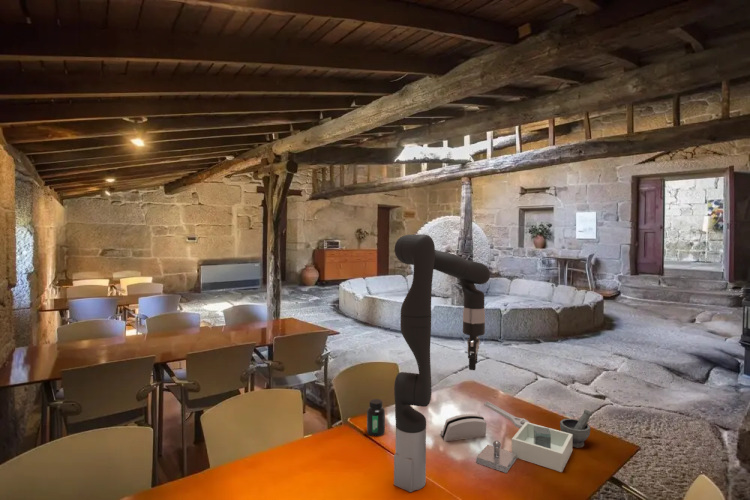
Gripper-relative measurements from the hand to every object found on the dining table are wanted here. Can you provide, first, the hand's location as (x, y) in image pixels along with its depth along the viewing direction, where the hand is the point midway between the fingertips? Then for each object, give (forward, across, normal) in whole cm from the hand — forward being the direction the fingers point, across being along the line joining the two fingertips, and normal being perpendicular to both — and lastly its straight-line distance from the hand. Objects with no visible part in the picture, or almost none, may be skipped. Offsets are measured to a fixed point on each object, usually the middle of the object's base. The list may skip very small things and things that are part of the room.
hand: (473, 366), depth 144 cm
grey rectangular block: (+28, -4, +23) cm, 37 cm away
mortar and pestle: (+29, -16, +36) cm, 48 cm away
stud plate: (+29, +6, +8) cm, 31 cm away
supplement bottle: (+29, -1, -36) cm, 46 cm away
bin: (+29, -4, +23) cm, 37 cm away
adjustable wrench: (+29, -32, +12) cm, 45 cm away
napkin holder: (+29, -7, -3) cm, 30 cm away
